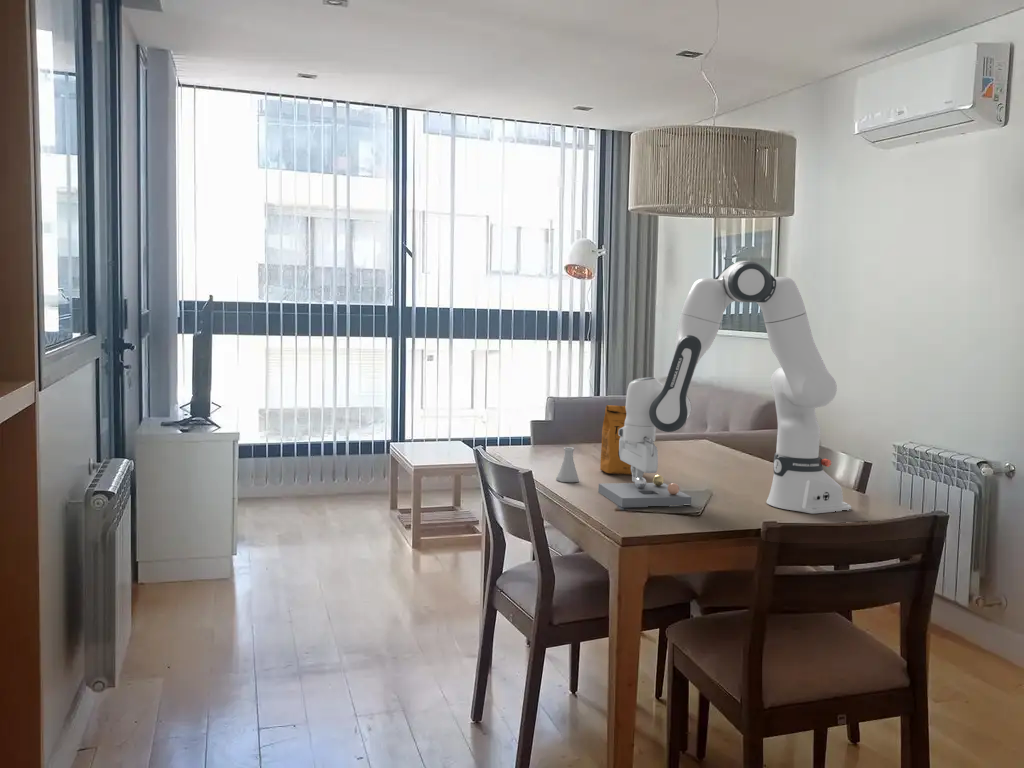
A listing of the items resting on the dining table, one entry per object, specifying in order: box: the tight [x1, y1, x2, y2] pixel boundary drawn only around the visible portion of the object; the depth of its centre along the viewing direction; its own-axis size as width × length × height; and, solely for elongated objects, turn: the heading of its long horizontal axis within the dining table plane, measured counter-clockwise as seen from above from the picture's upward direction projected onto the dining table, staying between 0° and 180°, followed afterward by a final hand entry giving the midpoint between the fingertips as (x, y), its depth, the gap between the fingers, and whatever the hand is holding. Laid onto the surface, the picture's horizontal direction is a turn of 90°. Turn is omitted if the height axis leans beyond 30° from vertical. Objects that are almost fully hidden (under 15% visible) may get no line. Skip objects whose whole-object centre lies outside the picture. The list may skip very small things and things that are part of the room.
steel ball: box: [634, 476, 647, 488], centre depth 232 cm, size 3×3×3 cm
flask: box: [555, 446, 580, 483], centre depth 251 cm, size 7×7×10 cm
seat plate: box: [597, 482, 692, 508], centre depth 230 cm, size 20×18×2 cm
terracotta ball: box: [668, 482, 680, 495], centre depth 226 cm, size 3×3×3 cm
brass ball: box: [652, 474, 665, 486], centre depth 237 cm, size 3×3×3 cm
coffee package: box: [599, 404, 632, 476], centre depth 265 cm, size 10×12×22 cm
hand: (636, 482), depth 235 cm, fingers closed
